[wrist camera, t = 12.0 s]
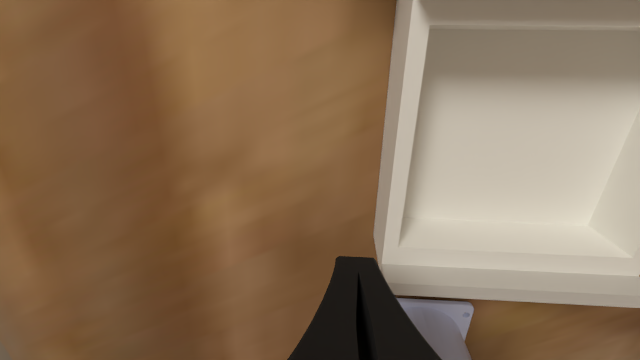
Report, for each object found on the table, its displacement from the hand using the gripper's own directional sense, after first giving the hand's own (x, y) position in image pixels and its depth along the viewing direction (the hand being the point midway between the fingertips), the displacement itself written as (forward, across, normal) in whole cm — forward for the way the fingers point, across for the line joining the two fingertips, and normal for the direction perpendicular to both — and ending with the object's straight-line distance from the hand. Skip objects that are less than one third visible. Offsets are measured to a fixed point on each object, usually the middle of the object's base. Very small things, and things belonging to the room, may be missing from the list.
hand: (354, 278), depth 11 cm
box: (+9, -9, -3) cm, 13 cm away
